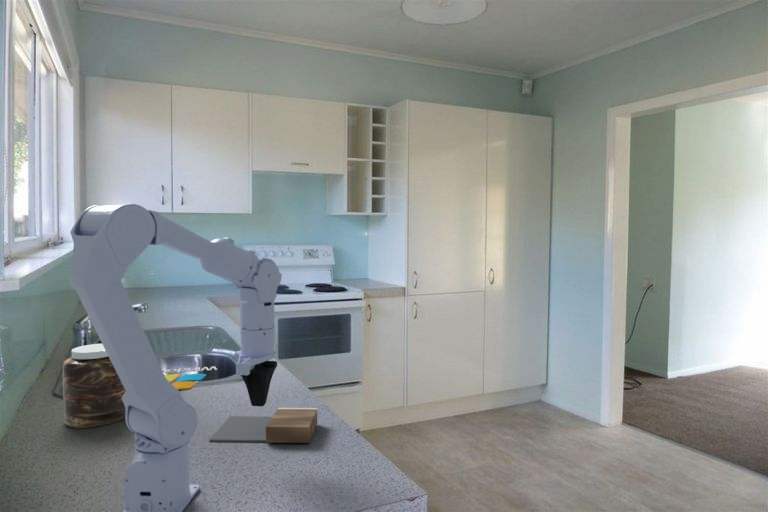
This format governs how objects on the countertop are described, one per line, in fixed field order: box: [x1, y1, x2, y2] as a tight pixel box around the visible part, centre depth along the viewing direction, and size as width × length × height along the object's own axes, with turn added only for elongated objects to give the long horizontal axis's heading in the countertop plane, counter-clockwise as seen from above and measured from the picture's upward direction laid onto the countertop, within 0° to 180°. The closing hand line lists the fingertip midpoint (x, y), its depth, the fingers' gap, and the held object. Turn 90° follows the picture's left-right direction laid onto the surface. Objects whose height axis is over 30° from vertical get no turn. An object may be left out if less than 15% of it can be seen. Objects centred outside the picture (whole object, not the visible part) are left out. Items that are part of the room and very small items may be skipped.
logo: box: [162, 365, 218, 391], centre depth 140 cm, size 23×1×20 cm
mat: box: [209, 415, 273, 443], centre depth 107 cm, size 12×18×1 cm, turn 88°
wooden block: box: [265, 407, 319, 444], centre depth 104 cm, size 3×8×10 cm
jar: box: [62, 343, 126, 429], centre depth 113 cm, size 12×12×15 cm
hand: (258, 404), depth 93 cm, fingers closed
